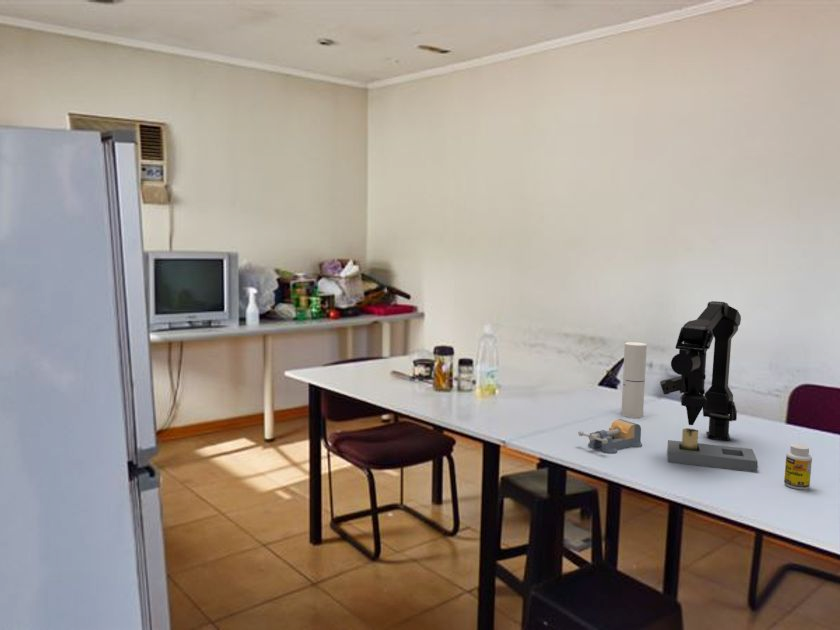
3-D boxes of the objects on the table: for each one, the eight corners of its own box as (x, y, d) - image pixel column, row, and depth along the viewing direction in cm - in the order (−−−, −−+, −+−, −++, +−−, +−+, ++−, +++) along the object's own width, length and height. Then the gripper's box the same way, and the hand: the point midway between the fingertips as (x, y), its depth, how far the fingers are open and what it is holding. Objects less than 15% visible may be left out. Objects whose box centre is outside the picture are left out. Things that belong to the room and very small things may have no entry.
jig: (667, 450, 194) (667, 440, 194) (751, 459, 187) (752, 448, 187) (667, 461, 184) (668, 451, 184) (756, 472, 177) (757, 461, 176)
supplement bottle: (779, 485, 168) (782, 445, 166) (790, 480, 171) (793, 441, 170) (803, 492, 163) (806, 451, 162) (813, 487, 166) (817, 447, 165)
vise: (617, 437, 206) (618, 416, 205) (645, 446, 198) (647, 424, 197) (576, 447, 196) (577, 425, 195) (604, 457, 188) (605, 434, 187)
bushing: (680, 455, 190) (682, 427, 189) (696, 457, 188) (697, 428, 187) (681, 459, 186) (683, 430, 185) (696, 461, 185) (698, 432, 184)
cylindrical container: (634, 419, 227) (638, 346, 224) (617, 414, 233) (620, 343, 230) (647, 416, 231) (651, 344, 228) (629, 411, 237) (633, 341, 234)
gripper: (662, 361, 196) (659, 413, 198) (663, 373, 178) (659, 430, 180) (704, 364, 192) (700, 417, 194) (708, 377, 175) (704, 435, 176)
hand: (690, 424), depth 186 cm, fingers closed
